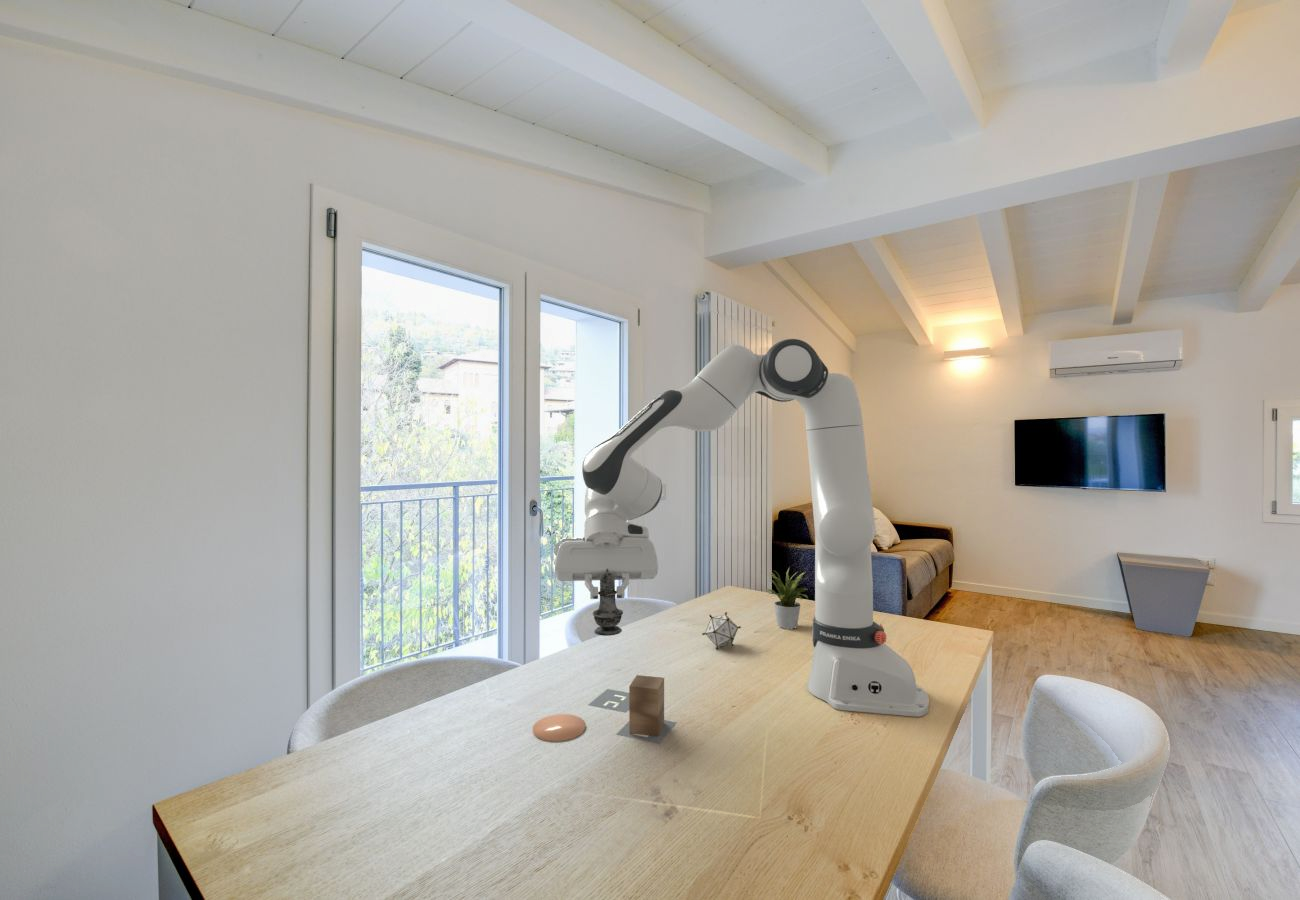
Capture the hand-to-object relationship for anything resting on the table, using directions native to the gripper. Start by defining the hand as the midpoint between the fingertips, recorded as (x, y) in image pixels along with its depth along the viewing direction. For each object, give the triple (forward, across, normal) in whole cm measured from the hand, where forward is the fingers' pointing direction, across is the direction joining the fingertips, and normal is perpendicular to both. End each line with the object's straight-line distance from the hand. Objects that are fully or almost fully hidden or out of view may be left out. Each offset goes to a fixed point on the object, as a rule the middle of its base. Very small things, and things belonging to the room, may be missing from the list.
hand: (607, 597), depth 109 cm
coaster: (+20, -9, +9) cm, 24 cm away
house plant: (-16, +50, +46) cm, 69 cm away
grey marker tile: (+13, +2, +16) cm, 21 cm away
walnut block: (+22, +6, +7) cm, 24 cm away
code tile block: (+22, +6, +7) cm, 24 cm away
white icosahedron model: (-6, +29, +36) cm, 47 cm away
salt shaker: (+4, 0, +5) cm, 7 cm away
